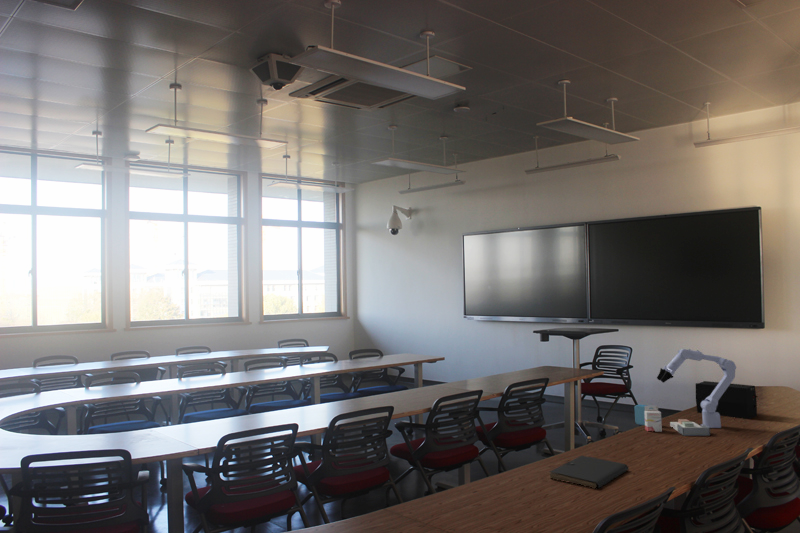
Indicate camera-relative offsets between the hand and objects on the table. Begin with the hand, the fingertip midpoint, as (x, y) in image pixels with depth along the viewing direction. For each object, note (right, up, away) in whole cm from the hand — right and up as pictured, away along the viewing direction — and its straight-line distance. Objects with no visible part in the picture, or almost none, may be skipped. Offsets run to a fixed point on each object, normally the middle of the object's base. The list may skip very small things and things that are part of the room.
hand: (659, 380), depth 354 cm
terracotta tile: (+12, -25, -6) cm, 29 cm away
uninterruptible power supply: (+58, -28, +25) cm, 69 cm away
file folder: (-74, -28, -88) cm, 119 cm away
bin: (+10, -27, -22) cm, 36 cm away
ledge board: (+12, -28, -10) cm, 32 cm away
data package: (-7, -29, +4) cm, 31 cm away
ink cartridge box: (-9, -29, -11) cm, 32 cm away
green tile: (+11, -25, -13) cm, 30 cm away
